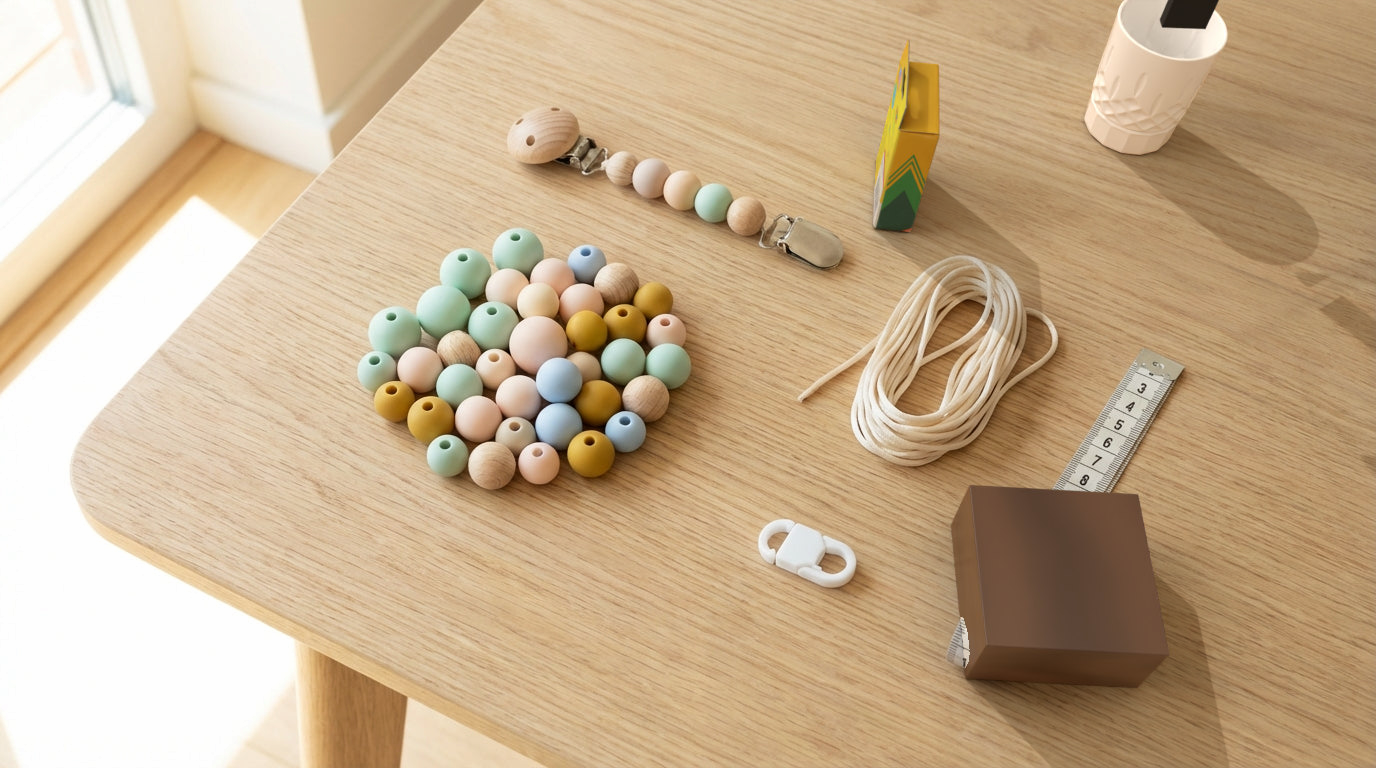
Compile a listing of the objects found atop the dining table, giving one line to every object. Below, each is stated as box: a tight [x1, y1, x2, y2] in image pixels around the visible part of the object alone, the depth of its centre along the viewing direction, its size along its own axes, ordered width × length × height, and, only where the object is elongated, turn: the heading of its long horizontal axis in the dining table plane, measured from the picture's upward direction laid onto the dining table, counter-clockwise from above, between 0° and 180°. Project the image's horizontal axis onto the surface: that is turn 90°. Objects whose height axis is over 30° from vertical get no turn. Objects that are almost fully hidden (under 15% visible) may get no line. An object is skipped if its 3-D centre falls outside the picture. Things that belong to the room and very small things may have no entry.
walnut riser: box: [950, 484, 1170, 689], centre depth 71 cm, size 10×10×5 cm
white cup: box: [1083, 0, 1229, 156], centre depth 92 cm, size 8×8×10 cm
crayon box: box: [872, 38, 940, 233], centre depth 86 cm, size 7×3×12 cm, turn 173°
